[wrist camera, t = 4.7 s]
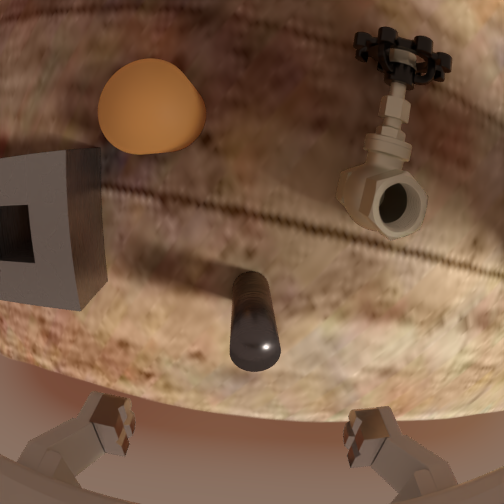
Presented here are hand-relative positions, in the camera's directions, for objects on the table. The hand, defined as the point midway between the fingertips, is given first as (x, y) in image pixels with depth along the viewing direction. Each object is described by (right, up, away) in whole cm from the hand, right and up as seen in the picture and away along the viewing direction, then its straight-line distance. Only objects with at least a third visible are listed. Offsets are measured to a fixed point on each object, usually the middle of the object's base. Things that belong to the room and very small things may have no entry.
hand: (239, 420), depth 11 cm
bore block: (-15, +9, +11) cm, 21 cm away
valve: (+9, +14, +10) cm, 20 cm away
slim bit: (0, +3, +13) cm, 14 cm away
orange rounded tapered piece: (-5, +15, +9) cm, 18 cm away
